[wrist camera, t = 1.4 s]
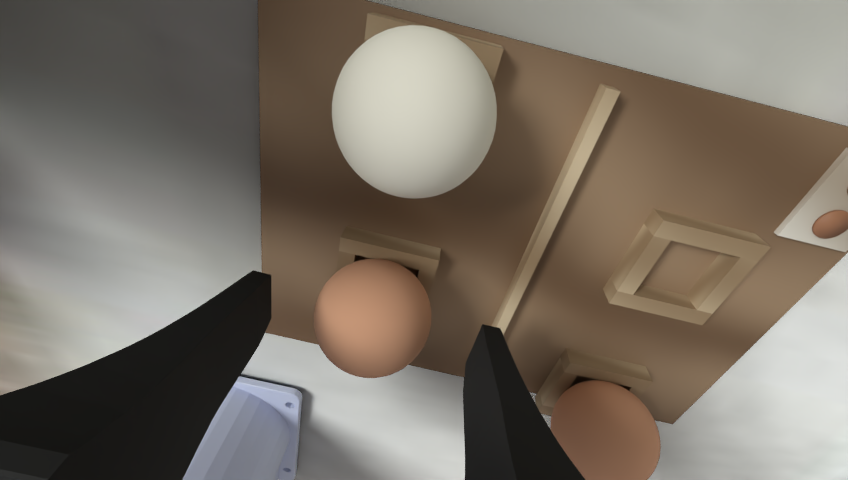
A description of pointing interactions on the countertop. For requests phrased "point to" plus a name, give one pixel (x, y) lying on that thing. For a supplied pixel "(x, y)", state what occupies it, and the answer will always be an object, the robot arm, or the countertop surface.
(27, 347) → the countertop surface
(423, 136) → the cream ball
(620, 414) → the terracotta ball
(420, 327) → the terracotta ball
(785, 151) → the board
